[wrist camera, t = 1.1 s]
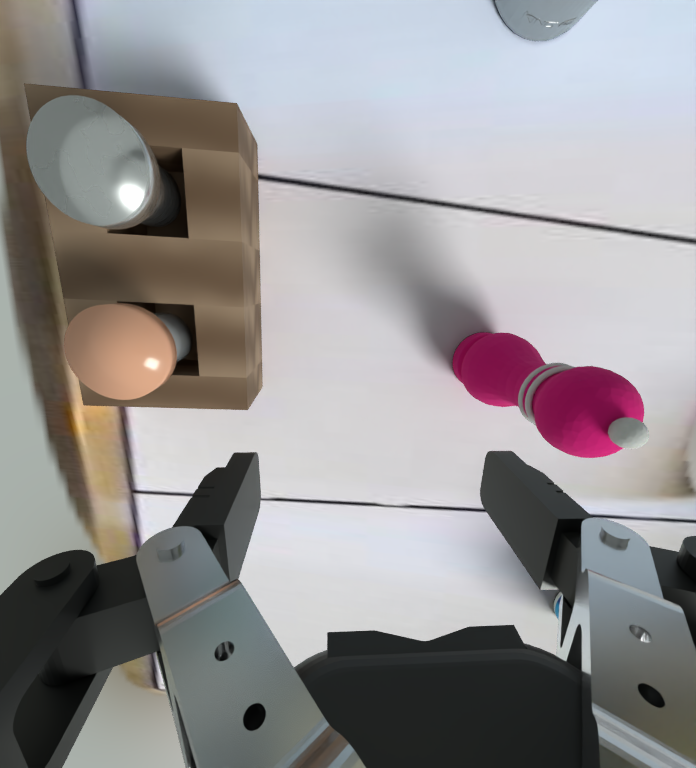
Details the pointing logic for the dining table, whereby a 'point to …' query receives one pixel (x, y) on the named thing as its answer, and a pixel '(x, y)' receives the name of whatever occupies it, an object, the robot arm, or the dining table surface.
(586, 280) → the dining table surface
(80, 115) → the steel plunger
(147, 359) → the terracotta plunger
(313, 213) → the dining table surface
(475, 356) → the pepper mill
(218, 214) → the button panel
